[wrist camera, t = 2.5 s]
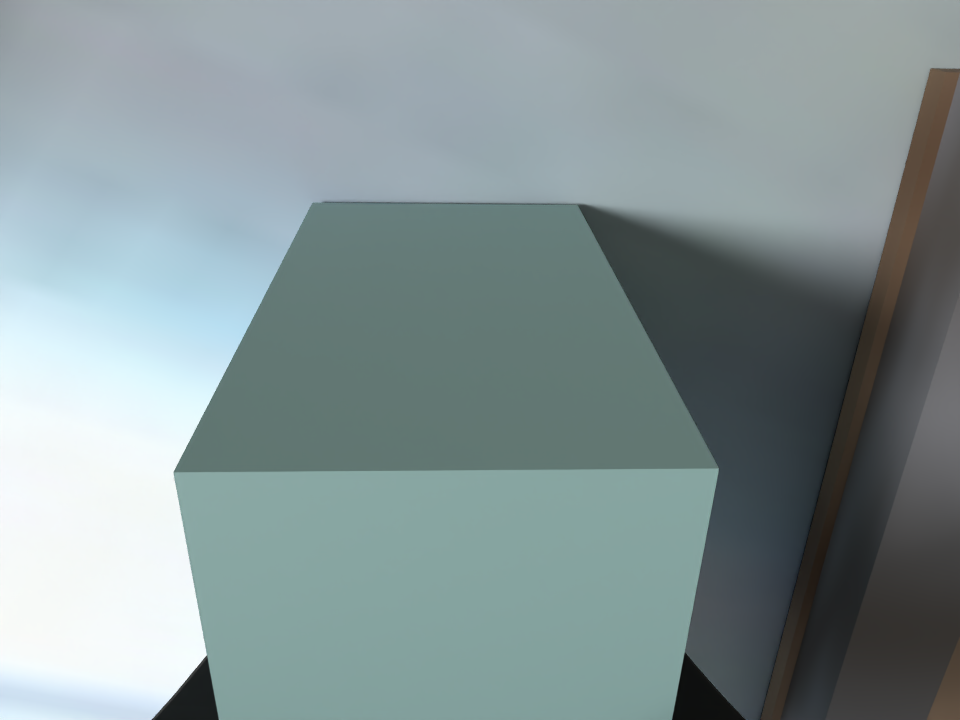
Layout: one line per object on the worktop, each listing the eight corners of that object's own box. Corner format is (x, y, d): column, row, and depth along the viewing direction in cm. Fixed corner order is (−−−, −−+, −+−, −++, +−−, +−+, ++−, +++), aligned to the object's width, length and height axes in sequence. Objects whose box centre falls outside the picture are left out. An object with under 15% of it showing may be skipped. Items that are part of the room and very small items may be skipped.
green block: (536, 738, 18) (587, 1168, 11) (353, 742, 17) (304, 1181, 11) (577, 205, 12) (718, 468, 6) (312, 202, 12) (174, 472, 6)
